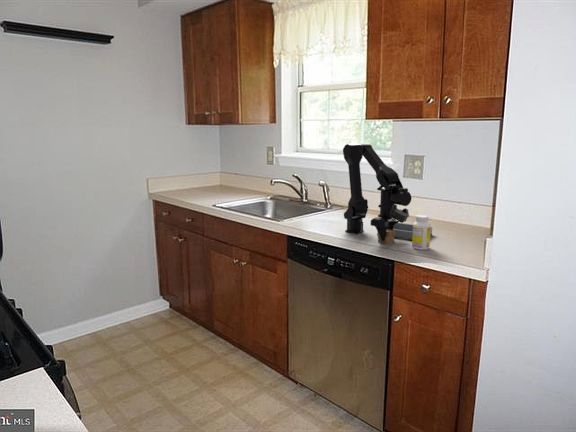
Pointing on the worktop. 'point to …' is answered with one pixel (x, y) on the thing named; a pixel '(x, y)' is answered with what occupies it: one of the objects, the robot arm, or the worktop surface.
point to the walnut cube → (387, 237)
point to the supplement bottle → (421, 233)
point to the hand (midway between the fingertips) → (386, 239)
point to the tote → (404, 231)
